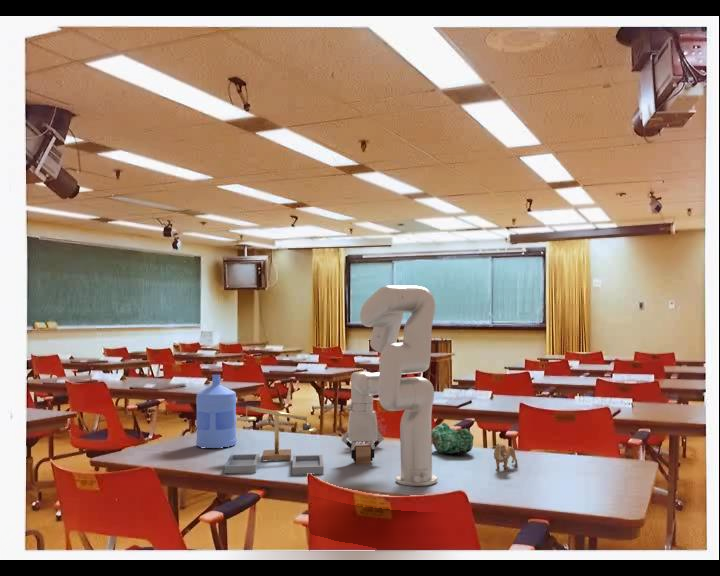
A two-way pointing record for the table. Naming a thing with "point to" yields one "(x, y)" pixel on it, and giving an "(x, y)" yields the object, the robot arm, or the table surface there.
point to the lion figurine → (504, 456)
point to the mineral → (451, 439)
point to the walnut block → (363, 454)
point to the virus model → (377, 428)
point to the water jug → (216, 416)
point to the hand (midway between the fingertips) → (362, 460)
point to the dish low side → (307, 464)
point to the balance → (277, 453)
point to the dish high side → (242, 463)
